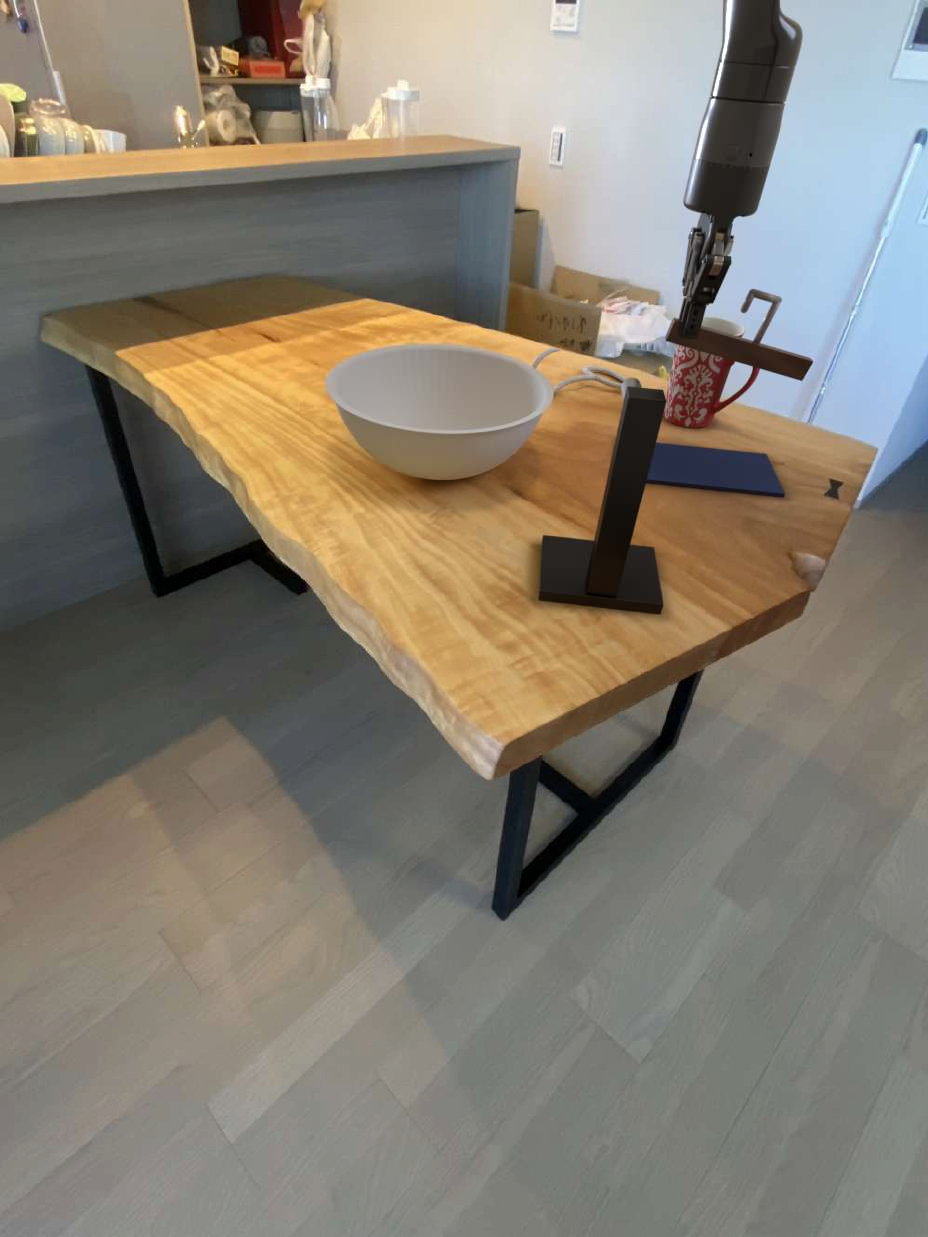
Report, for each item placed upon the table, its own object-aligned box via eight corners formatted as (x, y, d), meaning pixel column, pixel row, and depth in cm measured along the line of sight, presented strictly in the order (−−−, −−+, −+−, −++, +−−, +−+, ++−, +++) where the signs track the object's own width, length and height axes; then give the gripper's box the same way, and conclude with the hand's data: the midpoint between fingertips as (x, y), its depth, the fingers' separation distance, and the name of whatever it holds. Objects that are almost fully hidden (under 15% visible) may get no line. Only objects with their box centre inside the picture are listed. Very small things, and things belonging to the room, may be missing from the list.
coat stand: (651, 553, 75) (705, 360, 62) (660, 614, 67) (725, 408, 54) (541, 541, 76) (571, 347, 62) (538, 600, 68) (571, 392, 54)
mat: (765, 456, 95) (766, 453, 94) (784, 497, 86) (785, 493, 86) (619, 441, 96) (620, 438, 96) (624, 480, 88) (624, 476, 87)
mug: (644, 415, 103) (666, 322, 94) (675, 400, 108) (699, 310, 99) (720, 446, 97) (751, 348, 88) (750, 428, 102) (782, 334, 93)
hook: (505, 386, 107) (596, 383, 118) (543, 408, 102) (635, 403, 112) (516, 337, 103) (609, 339, 114) (556, 358, 97) (650, 358, 108)
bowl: (378, 535, 75) (375, 450, 69) (303, 430, 93) (296, 356, 87) (584, 488, 85) (599, 411, 79) (481, 403, 103) (486, 334, 97)
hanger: (799, 377, 82) (837, 312, 77) (802, 381, 81) (840, 316, 76) (664, 337, 81) (693, 269, 76) (665, 341, 80) (695, 272, 75)
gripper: (787, 169, 63) (729, 359, 74) (756, 150, 73) (709, 320, 85) (704, 162, 64) (659, 352, 75) (685, 145, 74) (648, 314, 85)
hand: (686, 334), depth 80 cm, fingers closed on hanger, 1 cm apart
